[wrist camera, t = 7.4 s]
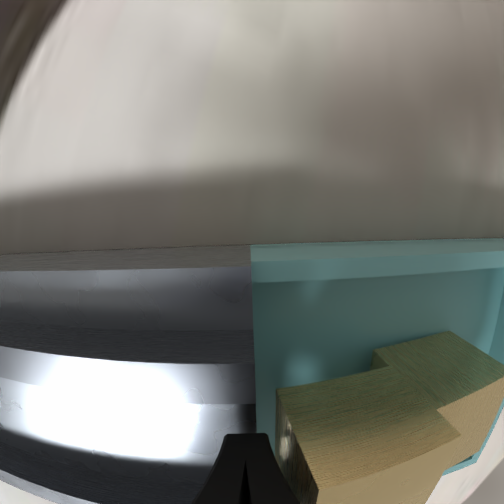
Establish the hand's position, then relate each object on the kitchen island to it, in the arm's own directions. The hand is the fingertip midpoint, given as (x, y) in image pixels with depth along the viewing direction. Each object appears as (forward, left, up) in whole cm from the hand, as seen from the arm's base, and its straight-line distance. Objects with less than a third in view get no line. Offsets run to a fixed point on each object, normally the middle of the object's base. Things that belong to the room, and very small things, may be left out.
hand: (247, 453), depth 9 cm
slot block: (0, +10, -4) cm, 10 cm away
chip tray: (0, -6, -4) cm, 7 cm away
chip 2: (0, -5, -1) cm, 5 cm away
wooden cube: (0, -3, -1) cm, 3 cm away
